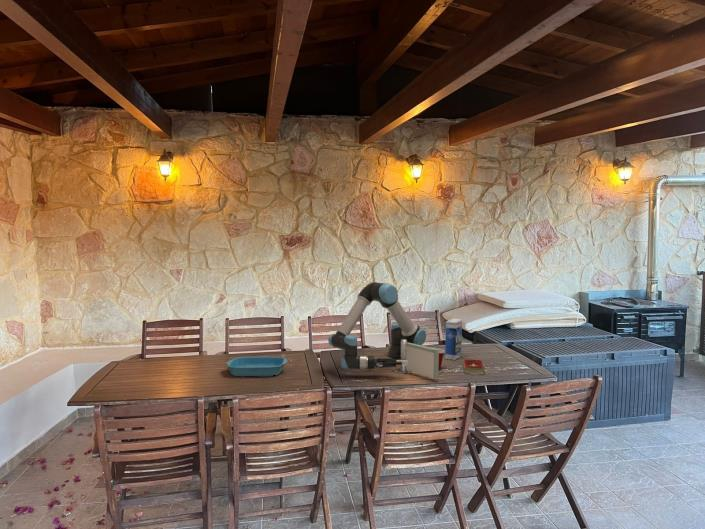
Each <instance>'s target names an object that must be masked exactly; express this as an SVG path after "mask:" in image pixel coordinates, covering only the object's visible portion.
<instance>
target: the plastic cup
mask: <svg viewBox="0 0 705 529" xmlns="http://www.w3.org/2000/svg"><path fill="white" fill-rule="evenodd" d="M432 348H433V349H438V350H439V368H438V370H440V369H441V368H442V364H443V358H444V356H445V350H444V349H442V348H438V347H432Z"/></svg>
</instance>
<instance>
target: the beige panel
mask: <svg viewBox="0 0 705 529" xmlns="http://www.w3.org/2000/svg"><path fill="white" fill-rule="evenodd" d="M433 348H434V347H429V346H425V345H417V344H412V343H406V360H407V361H408V366H406V370H408V371H411V372H410V373H414V374H418V375H421V376H426V377H429V378H432V379H434V380H437V379H439V369H438V368H439V350H438V349H433Z"/></svg>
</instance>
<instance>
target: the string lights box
mask: <svg viewBox="0 0 705 529" xmlns="http://www.w3.org/2000/svg"><path fill="white" fill-rule="evenodd" d="M462 331H463V319H461V318H460V319H459V318H450V319H449V320H447V321H445V353H444V359H445V360H450V359H452V360H453V361H456V360H457V358H458V359H460V358H461V357H462V344H463V342H462V340H463V335H462V334H463V332H462ZM460 356H461V357H460Z"/></svg>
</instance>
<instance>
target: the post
mask: <svg viewBox="0 0 705 529" xmlns="http://www.w3.org/2000/svg"><path fill="white" fill-rule="evenodd" d="M406 343H407V340H406V339H402V340H401V359H400V360H406ZM396 371H397V373H399V372H401V373H400V374H403V373H404V374H403V375H405V373H406V374H409V373H412V372H411V371H408V370H406V366H400V367H399V368H396V369H394V372H396ZM408 372H409V373H408Z"/></svg>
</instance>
